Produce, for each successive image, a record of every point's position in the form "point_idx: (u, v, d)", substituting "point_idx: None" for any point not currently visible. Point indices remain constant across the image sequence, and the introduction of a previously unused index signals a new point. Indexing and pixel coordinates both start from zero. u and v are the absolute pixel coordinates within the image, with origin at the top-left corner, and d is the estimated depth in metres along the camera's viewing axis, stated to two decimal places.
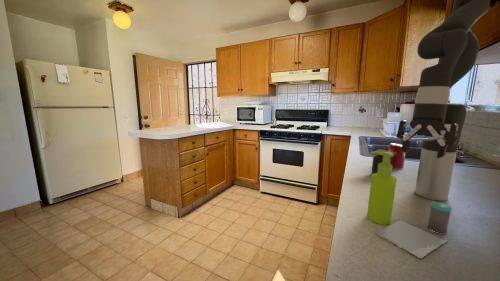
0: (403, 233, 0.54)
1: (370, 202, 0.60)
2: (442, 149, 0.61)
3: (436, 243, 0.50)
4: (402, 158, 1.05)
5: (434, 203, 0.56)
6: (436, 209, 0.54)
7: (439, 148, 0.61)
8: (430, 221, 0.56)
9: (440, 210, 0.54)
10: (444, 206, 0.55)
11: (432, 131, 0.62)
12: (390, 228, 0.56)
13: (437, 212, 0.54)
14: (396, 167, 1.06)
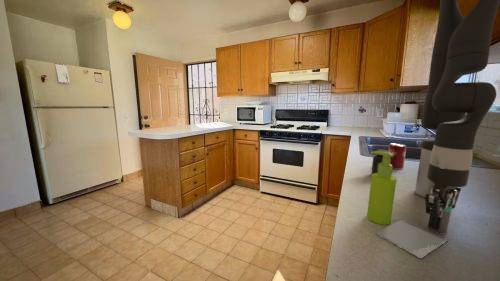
0: (403, 233, 0.54)
1: (370, 202, 0.60)
2: None
3: (436, 243, 0.50)
4: (402, 158, 1.05)
5: None
6: None
7: None
8: None
9: None
10: None
11: (453, 197, 0.54)
12: (390, 228, 0.56)
13: None
14: (396, 167, 1.06)
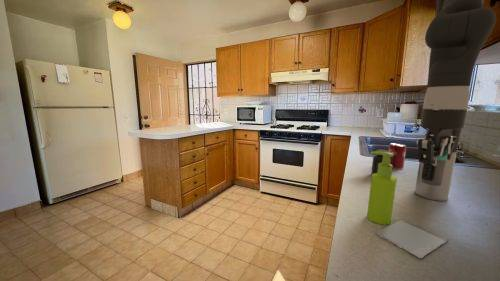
0: (403, 233, 0.54)
1: (370, 202, 0.60)
2: None
3: (436, 243, 0.50)
4: (402, 158, 1.05)
5: None
6: None
7: None
8: None
9: None
10: None
11: (449, 144, 0.49)
12: (390, 228, 0.56)
13: None
14: (396, 167, 1.06)
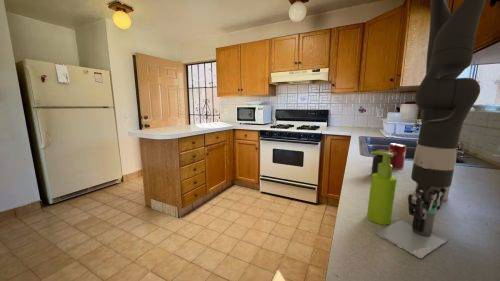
0: (403, 233, 0.54)
1: (370, 202, 0.60)
2: None
3: (436, 243, 0.50)
4: (402, 158, 1.05)
5: None
6: None
7: None
8: None
9: None
10: None
11: (438, 198, 0.52)
12: (390, 228, 0.56)
13: None
14: (396, 167, 1.06)
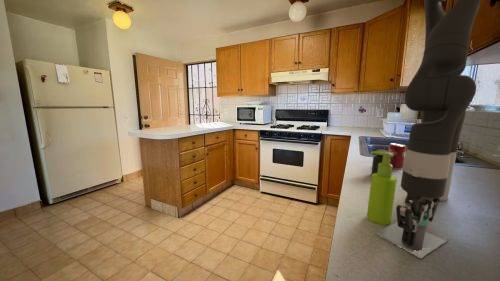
0: None
1: (370, 202, 0.60)
2: None
3: (436, 243, 0.50)
4: (402, 158, 1.05)
5: None
6: None
7: None
8: None
9: None
10: None
11: (430, 209, 0.47)
12: (390, 228, 0.56)
13: None
14: (396, 167, 1.06)
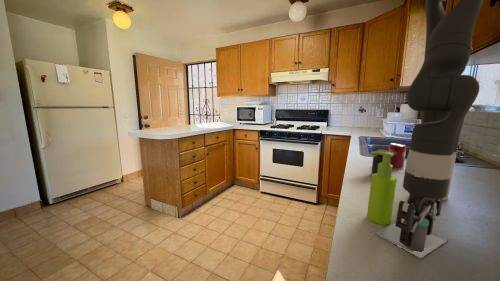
0: None
1: (370, 202, 0.60)
2: None
3: (436, 243, 0.50)
4: (402, 158, 1.05)
5: None
6: None
7: (432, 224, 0.49)
8: None
9: None
10: None
11: None
12: (390, 228, 0.56)
13: None
14: (396, 167, 1.06)
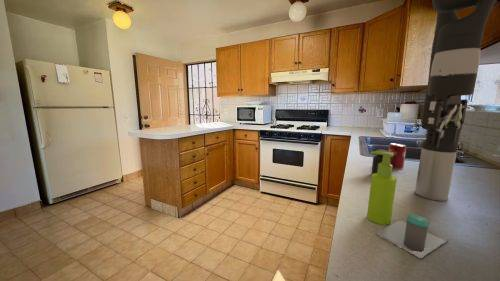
0: (403, 233, 0.54)
1: (370, 202, 0.60)
2: None
3: (436, 243, 0.50)
4: (402, 158, 1.05)
5: (411, 215, 0.49)
6: (412, 223, 0.47)
7: (456, 131, 0.50)
8: (405, 236, 0.49)
9: (415, 224, 0.46)
10: (421, 219, 0.47)
11: (459, 111, 0.47)
12: (390, 228, 0.56)
13: (412, 226, 0.47)
14: (396, 167, 1.06)
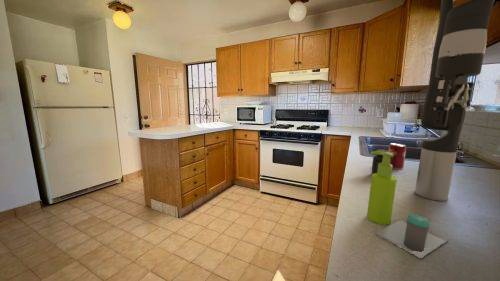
0: (403, 233, 0.54)
1: (370, 202, 0.60)
2: None
3: (436, 243, 0.50)
4: (402, 158, 1.05)
5: (411, 215, 0.49)
6: (412, 223, 0.47)
7: (463, 113, 0.51)
8: (406, 236, 0.49)
9: (416, 224, 0.46)
10: (422, 220, 0.47)
11: (466, 92, 0.49)
12: (390, 228, 0.56)
13: (413, 226, 0.47)
14: (396, 167, 1.06)
